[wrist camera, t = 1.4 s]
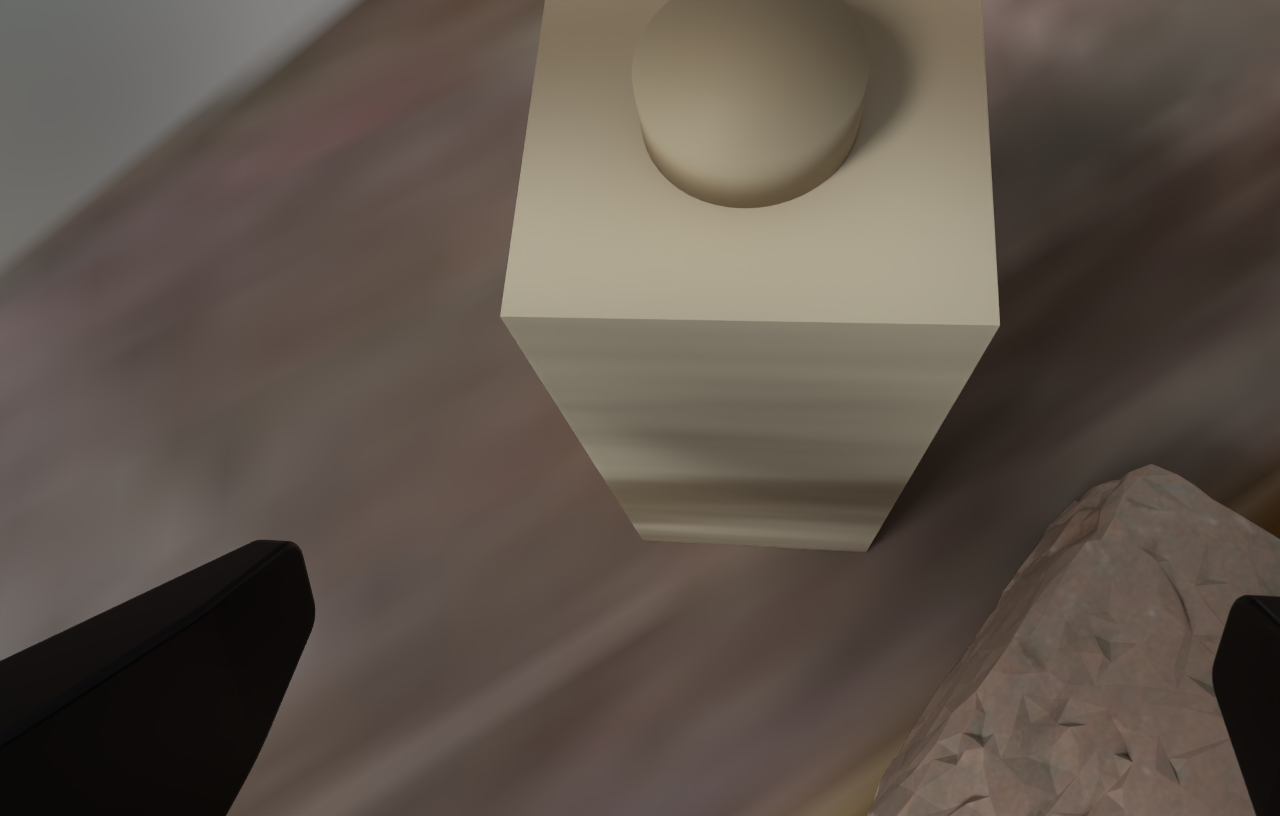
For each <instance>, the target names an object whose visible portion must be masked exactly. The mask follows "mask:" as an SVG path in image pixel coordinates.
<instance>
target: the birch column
mask: <svg viewBox="0 0 1280 816" xmlns="http://www.w3.org/2000/svg"><path fill="white" fill-rule="evenodd" d="M500 317H501V318H502V320H503V322H504V323H505V325H506V326H507V328H508V329H509V331H510V333H511V334H512V336H513V337H514V339H515V340H516V342H517V344H518V345H519V347H520V348H521V350H522V351H523V353H524V355H525V356H526V358H527V359H528V361H529V362H530V364H531V366H532V367H533V369H534V370H535V372H536V373H537V375H538V377H539V378H540V380H541V381H542V383H543V384H544V386H545V388H546V389H547V391H548V392H549V394H550V395H551V397H552V399H553V400H554V402H555V403H556V405H557V406H558V408H559V409H560V411H561V413H562V414H563V416H564V417H565V419H566V420H567V422H568V424H569V425H570V427H571V428H572V430H573V431H574V433H575V435H576V436H577V438H578V439H579V441H580V442H581V444H582V446H583V447H584V449H585V450H586V452H587V453H588V455H589V457H590V458H591V460H592V461H593V463H594V464H595V466H596V468H597V469H598V471H599V472H600V474H601V475H602V477H603V479H604V480H605V482H606V483H607V485H608V486H609V488H610V490H611V491H612V493H613V494H614V496H615V497H616V499H617V500H618V502H619V504H620V505H621V507H622V508H623V510H624V511H625V513H626V515H627V516H628V518H629V519H630V521H631V522H632V524H633V526H634V527H635V529H636V530H637V532H638V533H639V535H640V537H641V538H642V540H651V541H669V542H687V543H706V544H724V545H743V546H761V547H780V548H798V549H817V550H835V551H854V552H867V550H868V548H869V547H870V545H871V543H872V541H873V540H874V538H875V536H876V535H877V533H878V531H879V530H880V528H881V526H882V525H883V523H884V521H885V519H886V518H887V516H888V514H889V513H890V511H891V509H892V508H893V506H894V504H895V503H896V501H897V499H898V497H899V496H900V494H901V492H902V491H903V489H904V487H905V486H906V484H907V482H908V481H909V479H910V477H911V475H912V474H913V472H914V470H915V469H916V467H917V465H918V464H919V462H920V460H921V458H922V457H923V455H924V453H925V452H926V450H927V448H928V447H929V445H930V443H931V442H932V440H933V438H934V436H935V435H936V433H937V431H938V430H939V428H940V426H941V425H942V423H943V421H944V420H945V418H946V416H947V414H948V413H949V411H950V409H951V408H952V406H953V404H954V403H955V401H956V399H957V398H958V396H959V394H960V392H961V391H962V389H963V387H964V386H965V384H966V382H967V381H968V379H969V377H970V376H971V374H972V372H973V370H974V369H975V367H976V365H977V364H978V362H979V360H980V359H981V357H982V355H983V353H984V352H985V350H986V348H987V347H988V345H989V343H990V342H991V340H992V338H993V337H994V335H995V333H996V331H997V330H998V328H999V326H1000V316H999V298H998V280H997V262H996V244H995V227H994V209H993V191H992V173H991V156H990V138H989V120H988V102H987V85H986V67H985V49H984V31H983V13H982V0H545V5H544V12H543V19H542V26H541V33H540V40H539V47H538V54H537V61H536V68H535V75H534V82H533V89H532V96H531V103H530V110H529V117H528V124H527V131H526V138H525V145H524V153H523V160H522V167H521V174H520V181H519V188H518V195H517V202H516V209H515V216H514V223H513V230H512V237H511V244H510V251H509V258H508V265H507V272H506V279H505V286H504V293H503V301H502V308H501V315H500Z"/></svg>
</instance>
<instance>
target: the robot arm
mask: <svg viewBox="0 0 1280 816" xmlns="http://www.w3.org/2000/svg"><path fill="white" fill-rule="evenodd" d="M314 620H315V603H314V598H313V594H312V590H311V586H310V582H309V578H308V574H307V569H306V565H305V561H304V557H303V554H302V551H301V549H300V548H299V546H298V545H297V544H295V543H293V542H291V541H277V540H256V541H253V542H251V543H249V544H247V545H245V546H242V547H240V548H238V549H236V550H234V551H232V552H230V553H228V554H226V555H223V556H221V557H219V558H217V559H215V560H213V561H211V562H209V563H206V564H204V565H202V566H200V567H198V568H196V569H194V570H192V571H190V572H187V573H185V574H183V575H181V576H179V577H177V578H175V579H173V580H171V581H168V582H166V583H164V584H162V585H160V586H158V587H156V588H154V589H152V590H149V591H147V592H145V593H143V594H141V595H139V596H137V597H135V598H132V599H130V600H128V601H126V602H124V603H122V604H120V605H118V606H116V607H113V608H111V609H109V610H107V611H105V612H103V613H101V614H99V615H97V616H94V617H92V618H90V619H88V620H86V621H84V622H82V623H80V624H78V625H75V626H73V627H71V628H69V629H67V630H65V631H63V632H61V633H59V634H56V635H54V636H52V637H50V638H48V639H46V640H44V641H42V642H39V643H37V644H35V645H33V646H31V647H29V648H27V649H25V650H23V651H20V652H18V653H16V654H14V655H12V656H10V657H8V658H6V659H4V660H1V661H0V816H226V815H227V813H228V811H229V809H230V808H231V806H232V804H233V802H234V800H235V799H236V797H237V795H238V793H239V791H240V789H241V788H242V786H243V784H244V782H245V780H246V778H247V776H248V775H249V773H250V771H251V769H252V767H253V765H254V763H255V761H256V759H257V757H258V755H259V753H260V751H261V748H262V746H263V744H264V742H265V740H266V738H267V735H268V733H269V731H270V728H271V726H272V724H273V721H274V719H275V716H276V714H277V712H278V709H279V707H280V705H281V702H282V700H283V697H284V695H285V693H286V690H287V688H288V686H289V683H290V681H291V678H292V676H293V674H294V671H295V669H296V667H297V664H298V662H299V659H300V657H301V655H302V652H303V650H304V648H305V645H306V643H307V640H308V638H309V636H310V633H311V631H312V628H313V624H314ZM1212 684H1213V690H1214V693H1215V696H1216V699H1217V702H1218V705H1219V708H1220V711H1221V714H1222V717H1223V720H1224V723H1225V726H1226V729H1227V732H1228V735H1229V738H1230V741H1231V744H1232V747H1233V750H1234V753H1235V756H1236V759H1237V762H1238V765H1239V768H1240V771H1241V774H1242V777H1243V779H1244V782H1245V785H1246V788H1247V791H1248V794H1249V797H1250V800H1251V803H1252V806H1253V809H1254V812H1255V815H1256V816H1280V596H1263V595H1243V596H1241V597H1239V598H1237V599H1236V600H1235V602H1234V603H1233V604H1232V606H1231V609H1230V611H1229V614H1228V617H1227V621H1226V624H1225V627H1224V630H1223V633H1222V637H1221V640H1220V643H1219V646H1218V650H1217V653H1216V656H1215V659H1214V663H1213V667H1212Z"/></svg>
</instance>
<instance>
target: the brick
mask: <svg viewBox="0 0 1280 816" xmlns="http://www.w3.org/2000/svg"><path fill="white" fill-rule="evenodd" d="M1243 595H1263V596H1280V539H1279V538H1277V537H1275V536H1274V535H1272V534H1270V533H1269V532H1267V531H1266V530H1264V529H1262V528H1261V527H1259V526H1257V525H1256V524H1254V523H1252V522H1251V521H1249V520H1248V519H1246V518H1244V517H1243V516H1241V515H1239V514H1238V513H1236V512H1234V511H1233V510H1231V509H1229V508H1227V507H1225V506H1224V505H1222V504H1220V503H1218V502H1217V501H1215V500H1213V499H1211V498H1210V497H1209V496H1208V495H1207V494H1205V493H1204V492H1203V491H1202V490H1201V489H1199V488H1198V487H1197V486H1195V485H1194V484H1192V483H1190V482H1189V481H1187V480H1186V479H1184V478H1183V477H1181V476H1179V475H1177V474H1175V473H1173V472H1170V471H1168V470H1166V469H1163V468H1161V467H1158V466H1156V465H1154V464H1150V465H1147V466H1144V467H1142V468H1139V469H1136V470H1134V471H1131V472H1129V473H1127V474H1125V475H1124V476H1123V477H1122V478H1121V480H1111V481H1108V482H1105V483H1103V484H1100V485H1097V486H1094V487H1092V488H1091V489H1090V490H1088V491H1087V492H1086V493H1084V495H1083V496H1082V498H1081V499H1080V501H1073V502H1072V503H1071V504H1070V505H1069V506H1068V507H1067V508H1066V509H1065V510H1064V511H1063V512H1062V513H1061V514H1060V515H1059V516H1058V517H1056V518H1055V519H1054V520H1053V521H1052V522H1051V523H1050V524H1049V526H1048V528H1047V530H1046V531H1045V533H1044V535H1043V537H1042V538H1041V540H1040V542H1039V543H1038V544H1037V545H1036V547H1035V548H1034V549H1033V550H1032V551H1031V553H1030V554H1029V555H1028V557H1027V558H1026V559H1025V561H1024V562H1023V563H1022V565H1021V566H1020V568H1019V569H1018V571H1017V573H1016V574H1015V576H1014V577H1013V579H1012V580H1011V582H1010V583H1009V584H1008V586H1007V587H1006V588H1005V590H1004V591H1003V593H1002V595H1001V597H1000V600H999V602H998V604H997V607H996V609H995V610H994V611H993V612H992V614H991V615H990V616H989V617H988V619H987V620H986V621H985V623H984V625H983V626H982V628H981V629H980V631H979V632H978V634H977V635H976V637H975V638H974V641H973V642H972V643H971V644H970V646H969V648H968V649H967V651H966V652H965V654H964V655H963V657H962V658H961V659H960V661H959V662H958V663H957V665H956V666H955V667H954V668H953V670H952V671H951V672H950V674H949V675H948V676H947V677H946V678H945V679H944V681H943V682H942V684H941V685H940V686H939V688H938V689H937V691H936V693H935V694H934V696H933V697H932V699H931V700H930V702H929V703H928V705H927V706H926V708H925V709H924V711H923V713H922V714H921V716H920V718H919V720H918V721H917V723H916V724H915V726H914V727H913V729H912V730H911V732H910V734H909V736H908V738H907V740H906V742H905V744H904V746H903V748H902V750H901V752H900V754H899V755H898V756H897V757H896V758H895V759H894V760H893V761H892V763H891V764H890V766H889V768H888V769H887V771H886V772H885V774H884V776H883V777H882V779H881V781H880V784H879V787H878V790H877V793H876V795H875V798H874V801H873V804H872V806H871V808H870V810H869V812H868V816H1256V815H1255V812H1254V809H1253V806H1252V803H1251V800H1250V797H1249V794H1248V791H1247V788H1246V785H1245V782H1244V779H1243V777H1242V774H1241V771H1240V768H1239V765H1238V762H1237V759H1236V756H1235V753H1234V750H1233V747H1232V744H1231V741H1230V738H1229V735H1228V732H1227V729H1226V726H1225V723H1224V720H1223V717H1222V714H1221V711H1220V708H1219V705H1218V702H1217V699H1216V696H1215V693H1214V690H1213V684H1212V667H1213V663H1214V659H1215V656H1216V653H1217V650H1218V646H1219V643H1220V640H1221V637H1222V633H1223V630H1224V627H1225V624H1226V621H1227V617H1228V614H1229V611H1230V609H1231V606H1232V604H1233V603H1234V602H1235V600H1236V599H1237V598H1239V597H1241V596H1243Z"/></svg>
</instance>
